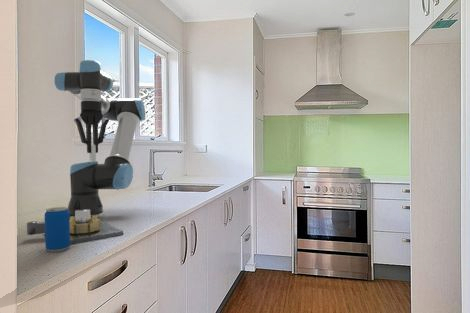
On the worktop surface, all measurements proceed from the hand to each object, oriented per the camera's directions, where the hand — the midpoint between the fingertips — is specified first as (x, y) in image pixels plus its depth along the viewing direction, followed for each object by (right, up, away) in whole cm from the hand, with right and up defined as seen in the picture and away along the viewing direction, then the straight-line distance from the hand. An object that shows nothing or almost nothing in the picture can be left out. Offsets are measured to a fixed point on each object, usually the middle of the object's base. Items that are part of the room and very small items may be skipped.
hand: (92, 161), depth 138 cm
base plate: (+4, -25, -17) cm, 30 cm away
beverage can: (+4, -26, -34) cm, 43 cm away
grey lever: (-2, -23, -19) cm, 30 cm away
